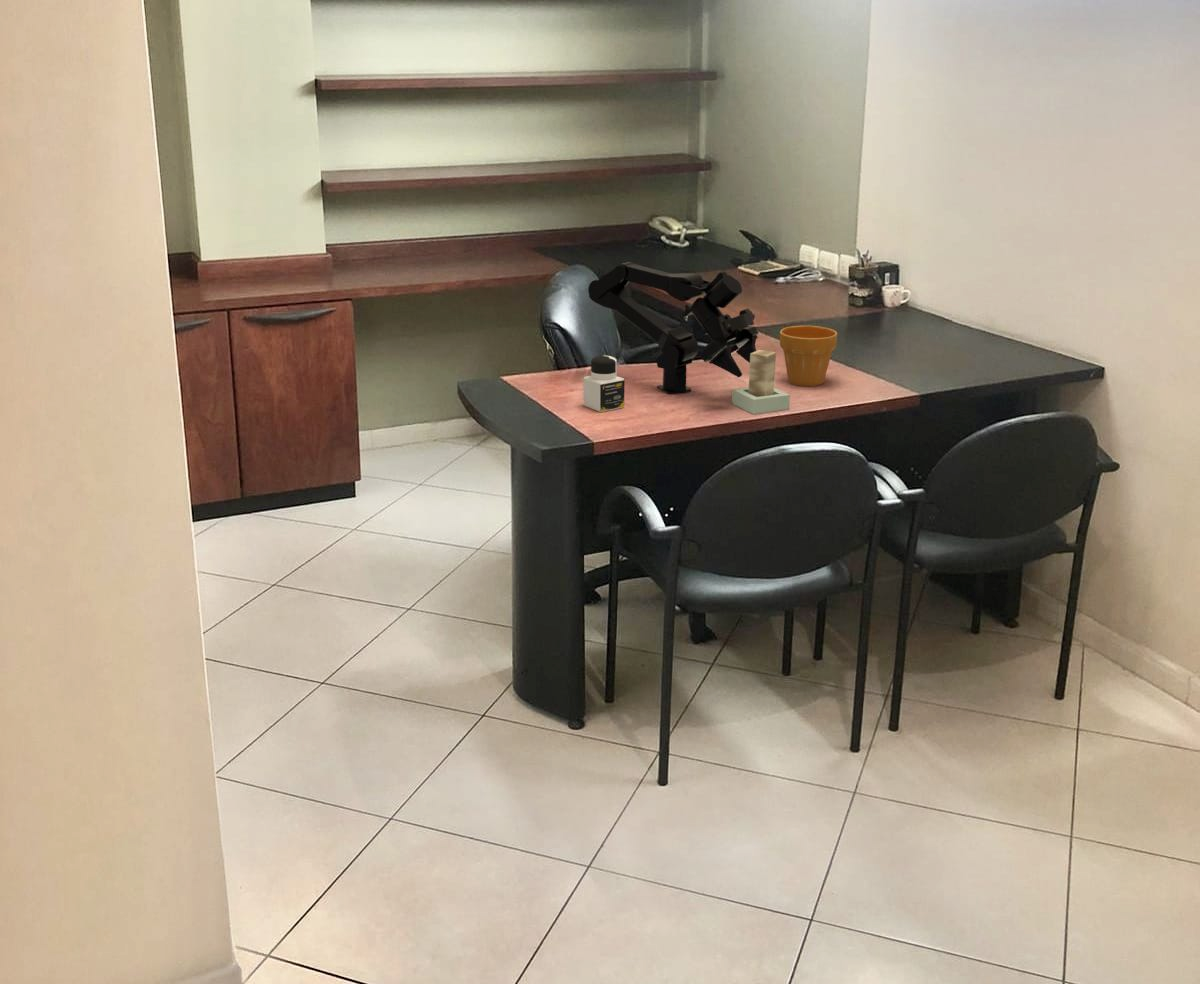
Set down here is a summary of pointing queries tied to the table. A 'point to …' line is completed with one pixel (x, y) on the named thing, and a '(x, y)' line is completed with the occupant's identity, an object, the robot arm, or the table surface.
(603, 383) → the medicine bottle
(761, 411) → the socket block
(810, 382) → the flower pot
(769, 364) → the maple peg
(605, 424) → the table surface
